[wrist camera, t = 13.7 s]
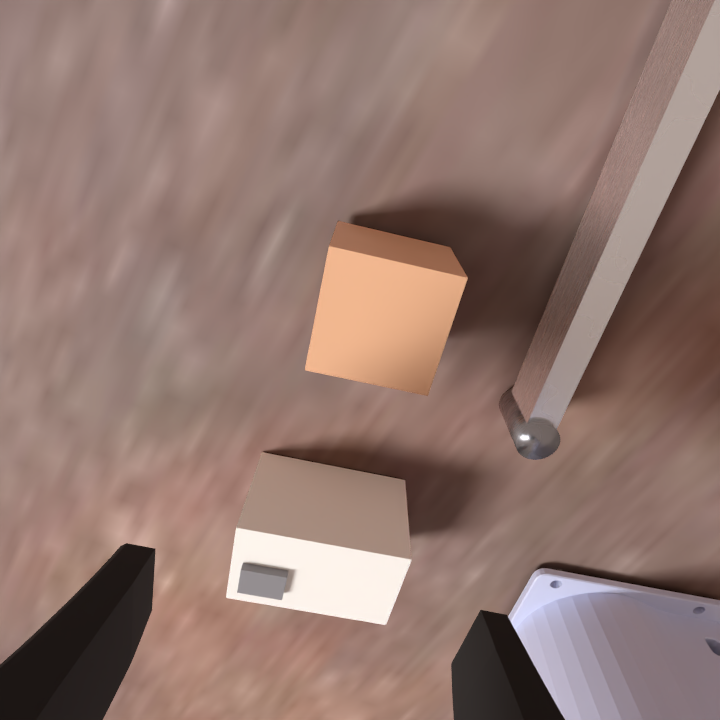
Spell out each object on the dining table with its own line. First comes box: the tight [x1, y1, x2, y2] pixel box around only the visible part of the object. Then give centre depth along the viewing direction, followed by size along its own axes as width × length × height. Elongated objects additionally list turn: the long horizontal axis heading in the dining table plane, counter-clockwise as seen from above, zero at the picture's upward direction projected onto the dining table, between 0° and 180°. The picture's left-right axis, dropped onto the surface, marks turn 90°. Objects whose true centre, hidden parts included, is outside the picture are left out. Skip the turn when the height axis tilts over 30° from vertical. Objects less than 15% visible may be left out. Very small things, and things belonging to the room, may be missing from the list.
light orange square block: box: [305, 221, 468, 396], centre depth 14 cm, size 4×4×3 cm
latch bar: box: [499, 0, 720, 460], centre depth 14 cm, size 14×1×2 cm, turn 168°
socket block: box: [226, 452, 412, 625], centre depth 19 cm, size 6×4×4 cm, turn 77°
